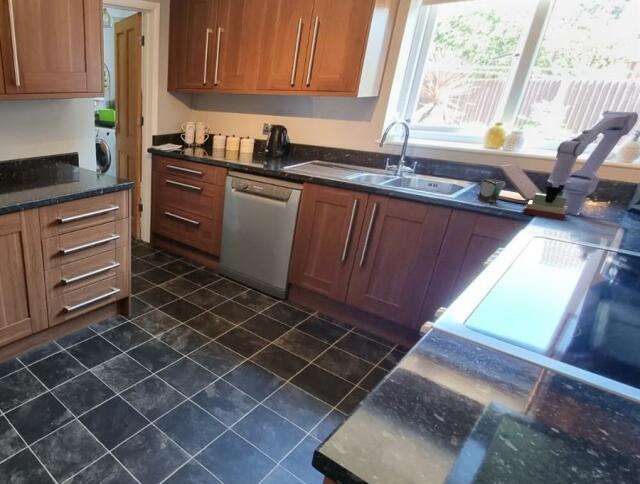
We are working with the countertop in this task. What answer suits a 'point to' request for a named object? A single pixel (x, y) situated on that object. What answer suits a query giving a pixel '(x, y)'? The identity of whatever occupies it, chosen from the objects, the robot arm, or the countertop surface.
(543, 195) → the green block
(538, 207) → the book stack
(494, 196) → the food container
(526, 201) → the case
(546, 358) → the countertop surface
